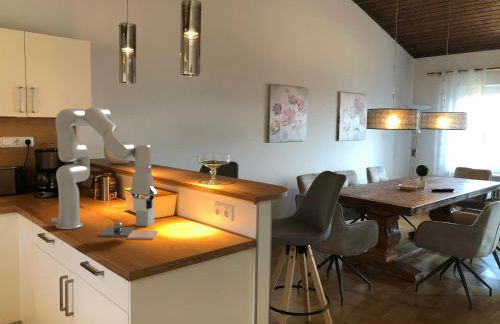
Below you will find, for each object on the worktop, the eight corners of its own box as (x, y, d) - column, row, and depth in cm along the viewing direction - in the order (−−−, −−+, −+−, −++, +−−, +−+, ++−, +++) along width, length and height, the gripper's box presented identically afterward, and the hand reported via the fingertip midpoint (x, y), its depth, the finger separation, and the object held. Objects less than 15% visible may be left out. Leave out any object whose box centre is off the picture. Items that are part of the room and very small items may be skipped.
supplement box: (154, 223, 223) (154, 200, 222) (147, 226, 216) (147, 202, 215) (142, 222, 225) (142, 199, 224) (135, 225, 218) (135, 201, 217)
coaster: (127, 239, 193) (127, 237, 193) (132, 232, 205) (132, 230, 205) (153, 239, 194) (153, 237, 194) (157, 232, 206) (157, 230, 205)
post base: (98, 236, 196) (98, 226, 195) (107, 229, 210) (107, 219, 209) (129, 237, 197) (129, 226, 196) (135, 229, 211) (135, 219, 210)
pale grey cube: (133, 210, 196) (133, 197, 196) (142, 207, 202) (142, 195, 202) (144, 211, 194) (143, 198, 193) (153, 208, 199) (152, 196, 199)
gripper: (123, 169, 197) (123, 207, 198) (152, 172, 189) (152, 211, 191) (134, 168, 203) (134, 204, 205) (162, 170, 196) (162, 208, 197)
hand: (143, 207), depth 198 cm, fingers closed on pale grey cube, 6 cm apart
